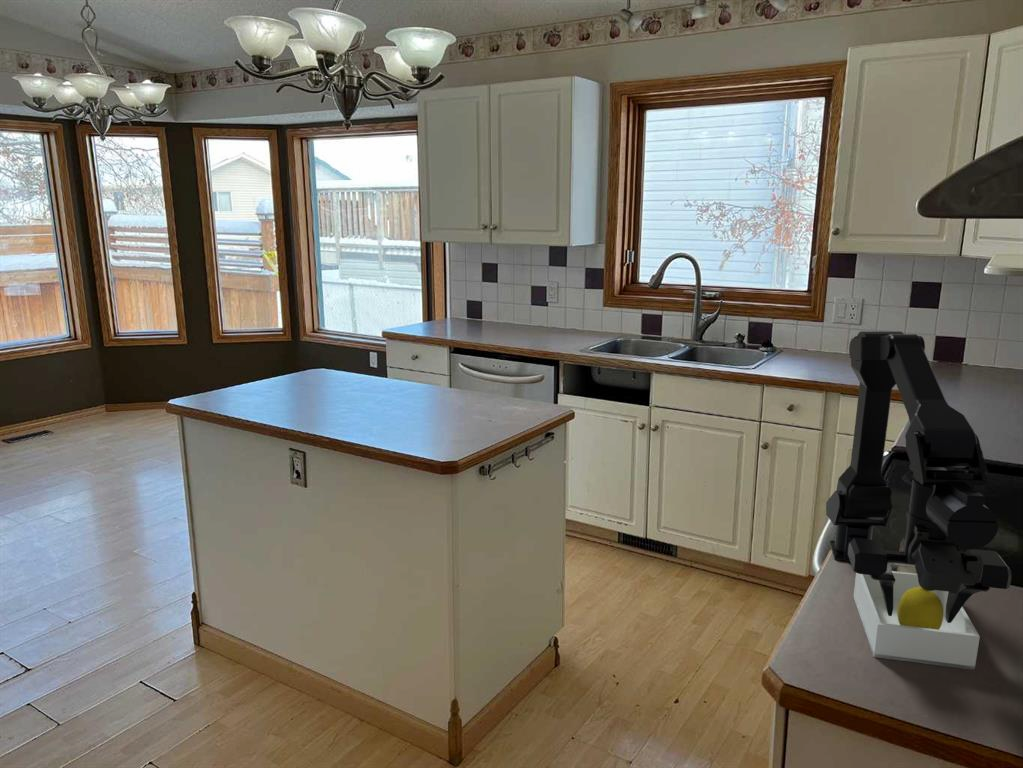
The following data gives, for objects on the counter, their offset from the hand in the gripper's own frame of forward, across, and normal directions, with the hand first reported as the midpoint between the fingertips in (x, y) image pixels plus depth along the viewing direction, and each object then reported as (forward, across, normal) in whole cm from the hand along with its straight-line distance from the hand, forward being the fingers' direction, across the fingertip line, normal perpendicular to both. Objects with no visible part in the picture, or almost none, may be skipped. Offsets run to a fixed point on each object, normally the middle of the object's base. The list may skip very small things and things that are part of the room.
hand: (918, 617), depth 103 cm
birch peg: (+4, +4, +17) cm, 18 cm away
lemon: (+4, 0, 0) cm, 4 cm away
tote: (+4, 0, +4) cm, 5 cm away
